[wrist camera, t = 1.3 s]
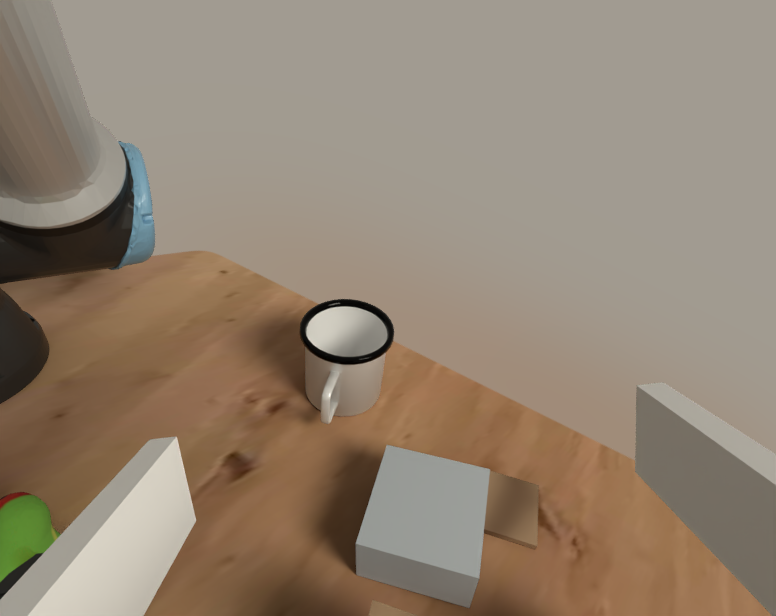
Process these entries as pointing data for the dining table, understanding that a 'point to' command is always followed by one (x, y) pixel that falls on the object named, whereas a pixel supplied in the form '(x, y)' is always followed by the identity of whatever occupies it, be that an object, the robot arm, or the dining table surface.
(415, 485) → the grey block
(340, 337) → the mug
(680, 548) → the dining table surface
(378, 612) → the walnut block
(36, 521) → the toy
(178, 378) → the dining table surface
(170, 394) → the dining table surface
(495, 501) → the walnut tile
